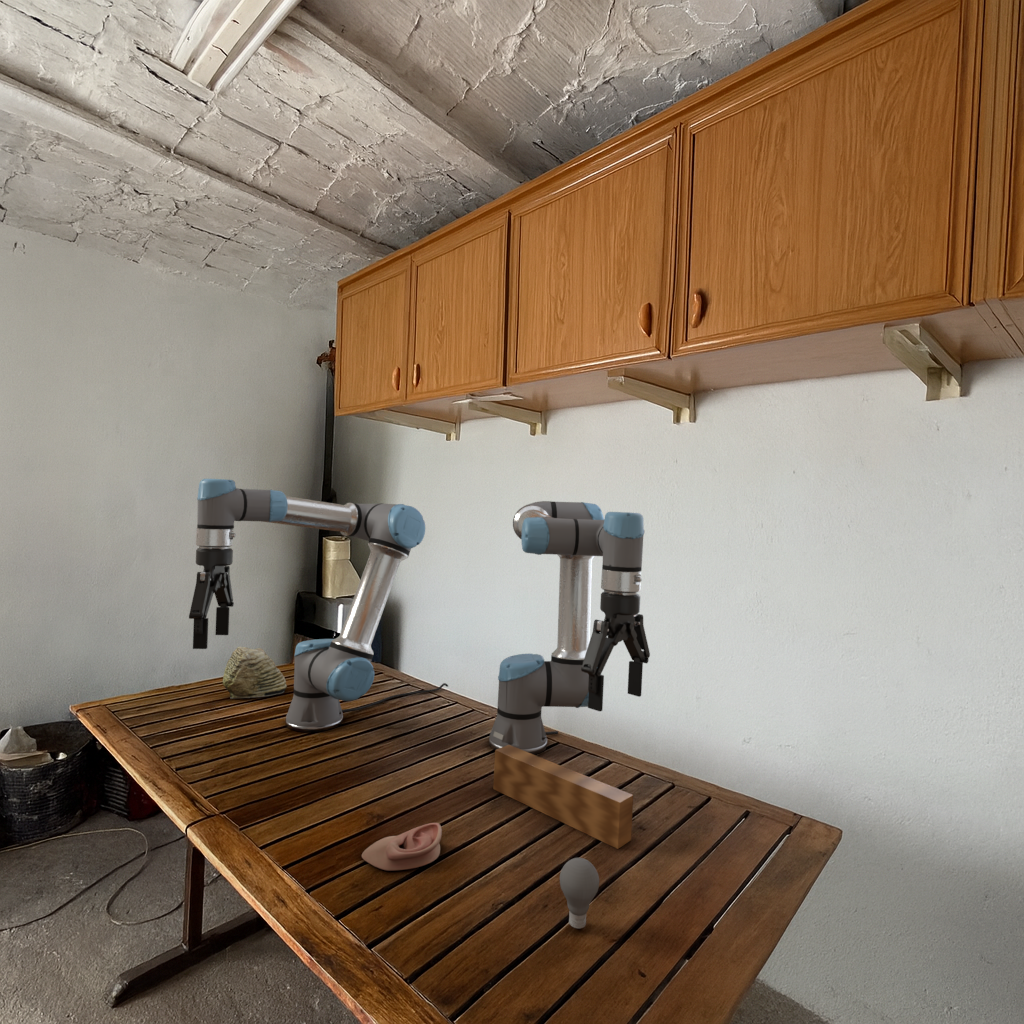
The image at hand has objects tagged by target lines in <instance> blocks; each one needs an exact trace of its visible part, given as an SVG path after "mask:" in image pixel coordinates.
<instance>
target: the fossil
mask: <svg viewBox="0 0 1024 1024" xmlns="http://www.w3.org/2000/svg"><path fill="white" fill-rule="evenodd" d="M222 676H223V677H222V685H223V687H224V688H225V690H226V691H228V693H229V698H230V699H250V698H264V697H271V696H275V695H281V694H284V693H285V691H286V689H287V687H288V686H287V680H286V678H285V676H284V674H283V673H282V672H281V669H279V668H278V667H277V665H276V663H275V662H274V660H273V659H272V658H271V657H270V656H269V655H268V654H267V653H266V652H265V650H264V649H263V648H260V647H258V648H251V647H247V646H246V647H245V646H238V647H237V648H236V649H235V650H233V651H232V653H231V656H230V657H229V659H228V660H227V663H226V666H225V668H224V671H223V675H222Z"/></svg>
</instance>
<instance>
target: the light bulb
mask: <svg viewBox="0 0 1024 1024" xmlns="http://www.w3.org/2000/svg"><path fill="white" fill-rule="evenodd" d="M559 885H560V889H561V891H562V894H563V896H564V897H565V899H566V904H567V909H568V910H569V911H568V912H569V913H568V925H570V926H571V927H572V928H574V929H583V928H585V927H586V925H587V913H588V912H589V909H590V905H591V902H592V901H593V899H594V898H595V896H596V895H597V893H598V891H599V889H600V888H599V886H600V876H599V872H598V871H597V868H596V867H595V866H594V864H592V862H591V861H589V860H588V859H586V858H583V857H574V858H571V859H569V860H568V861H567V862H565V863H564V865H563V866H562V868H561V870H560V873H559Z"/></svg>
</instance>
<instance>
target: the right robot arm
mask: <svg viewBox="0 0 1024 1024" xmlns="http://www.w3.org/2000/svg"><path fill="white" fill-rule="evenodd" d="M644 520H645V519H644V516H643V515H642V514H641V512H640V513H639V512H630V511H629V512H628V511H607V512H606V513H605V515H604V514H603V511H602V509H601V507H600V506H599V505H597V504H596V503H591V502H584V501H580V502H578V501H552V500H540V501H535V502H531V503H528V504H525V505H523V506H521V507H520V508H519V509H518V510H517V511H516V512H515V514H514V516H513V519H512V529H513V531H514V534H515V535H516V537H518V538H519V539H520V540H521V550H522V552H524V553H525V554H533V555H538V556H539V555H540V556H541V555H557V557H559V582H558V613H557V614H558V615H557V643H556V649H554V650H553V652H551V655H550V659H551V660H545V658H544V655H541V654H538V653H520V654H513V655H510V656H508V657H505V658H503V660H502V661H501V662H500V664H499V671H498V676H497V680H498V689H497V690H498V693H497V709H496V710H497V712H496V716H495V720H494V722H493V725H492V728H491V730H490V733H489V735H488V745H489V747H490V748H491V749H492V750H493V751H495V750H496V749H499V748H502V747H504V746H507V745H511V746H513V747H516V748H518V749H521V750H523V751H526V752H528V753H531V754H533V755H538V754H541V753H543V752H544V751H545V750H547V747H548V737H547V736H554V735H559V731H558V730H553V731H546V730H545V726H544V721H543V719H542V718H543V717H542V709H543V708H544V707H545V708H546V707H547V708H552V707H553V708H555V707H557V708H576V709H580V708H588V709H591V710H593V711H597V712H602V711H603V706H604V705H603V704H604V685H605V684H604V683H605V675H604V674H602V673H603V671H604V669H605V667H606V664H607V662H608V659H609V658H610V656H611V653H612V651H613V649H614V647H616V646H617V645H618V644H619V643H620V642H622V641H623V644H624V645H625V648H626V650H627V652H628V654H629V656H630V659H631V660H630V661H628V677H627V694H628V695H631V696H635V697H639V698H640V697H642V688H643V667H644V666H643V665H644V664H648V663H649V661H650V660H649V659H650V656H651V652H650V648H649V643H648V638H647V635H646V629H645V626H644V615H643V614H640V612H641V611H640V610H641V595H640V594H639V592H641V590H642V589H641V587H642V586H641V585H642V580H643V579H642V569H643V568H642V566H643V551H644V535H645V523H644V522H645V521H644ZM595 557H602V565H601V579H600V589H601V590H603V591H602V592H601V593H600V604H599V605H600V606H599V609H600V610H601V612H602V613H604V619H603V620H600V619H594V621H593V627H592V632H591V614H592V613H591V612H592V610H591V609H592V605H591V604H592V579H593V578H592V577H593V576H592V575H593V572H592V571H593V559H594V558H595Z"/></svg>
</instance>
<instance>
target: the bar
mask: <svg viewBox="0 0 1024 1024" xmlns="http://www.w3.org/2000/svg"><path fill="white" fill-rule="evenodd" d="M493 765H494V766H493V767H494V768H493V786H492V788H493V790H494V791H496V792H499V793H500V794H503V795H504V796H507V797H509V798H510V799H513V800H514V801H517V802H519V803H521V804H523V805H525V806H527V807H530V808H531V809H534V810H536V811H538V812H539V813H542V814H544V815H546V816H548V817H550V818H551V819H554V820H557V821H559V822H561V823H563V824H564V825H567V826H569V827H571V828H573V829H575V830H577V831H579V832H582V833H584V834H585V835H588V836H590V837H592V838H594V839H595V840H598V841H599V842H602V843H604V844H606V845H608V846H611V848H612V847H613V848H614V849H617V850H619V849H620V848H622V847H624V846H625V845H627V844H628V843H629V842H631V841H632V830H633V813H634V812H633V811H634V810H633V809H634V794H632V793H630V792H628V791H624V790H622V789H619V788H618V787H615V786H612V785H609V784H607V783H606V782H602V781H600V780H598V779H594V778H592V777H590V776H587V775H585V774H583V773H580V772H577V771H575V770H572V769H570V768H568V767H565V766H563V765H560V764H559V763H555V762H553V761H550V760H548V759H545V758H543V757H540V756H539V755H537V754H535V755H533V754H531V753H528V752H526V751H523V750H521V749H518V748H516V747H513V746H511V745H507V746H504V747H502V748H499V749H496V750H494V764H493Z"/></svg>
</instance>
